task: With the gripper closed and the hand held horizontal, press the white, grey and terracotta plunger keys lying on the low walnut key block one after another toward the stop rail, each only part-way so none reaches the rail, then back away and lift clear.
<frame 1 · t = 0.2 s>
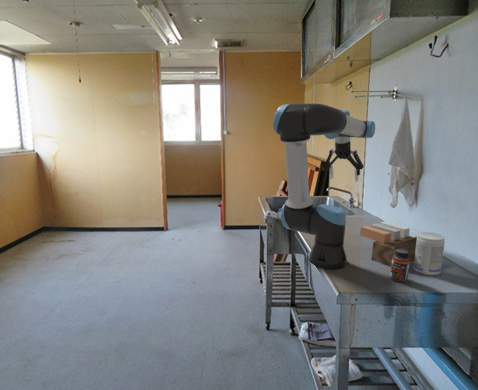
hand: (343, 179, 184), 28 cm above the worktop, tool tilted 15°, fingers open, 13 cm apart
terracotta key: (374, 234, 149), point 10 cm above the worktop, slide at 0.0 cm
walnut key block: (393, 257, 150), on the worktop
grey key: (384, 231, 152), point 10 cm above the worktop, slide at 0.0 cm
supplement bottle: (398, 280, 129), on the worktop
white key: (394, 229, 156), point 10 cm above the worktop, slide at 0.0 cm
supplement tub: (426, 271, 137), on the worktop
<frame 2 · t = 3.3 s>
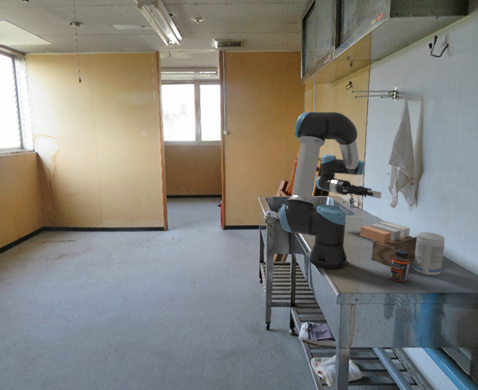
hand: (380, 195, 161), 24 cm above the worktop, tool horizontal, fingers closed
nothing on the worktop moved.
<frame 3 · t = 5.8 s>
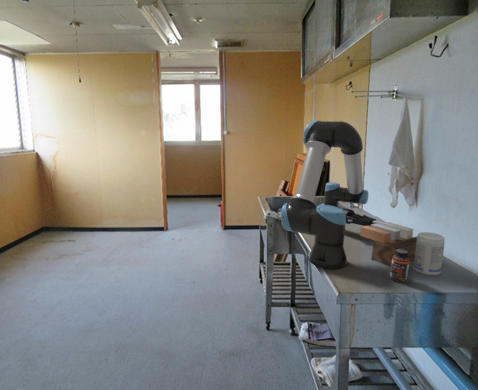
hand: (385, 226, 160), 10 cm above the worktop, tool horizontal, fingers closed
white key: (397, 230, 155), point 10 cm above the worktop, slide at 1.6 cm, touching gripper
everything else where it was.
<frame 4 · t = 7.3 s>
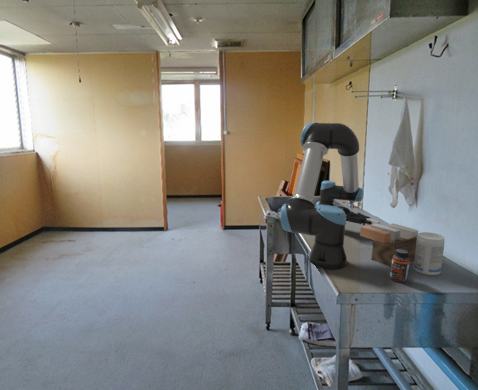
hand: (378, 224, 163), 10 cm above the worktop, tool horizontal, fingers closed
white key: (402, 231, 153), point 10 cm above the worktop, slide at 3.9 cm
everything else where it was.
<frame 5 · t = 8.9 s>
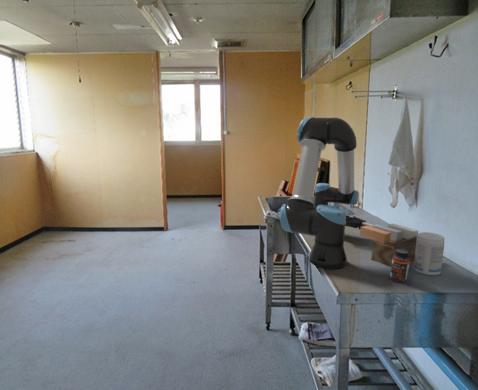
hand: (374, 228, 157), 10 cm above the worktop, tool horizontal, fingers closed
grey key: (386, 232, 152), point 10 cm above the worktop, slide at 1.0 cm, touching gripper
everything else where it was.
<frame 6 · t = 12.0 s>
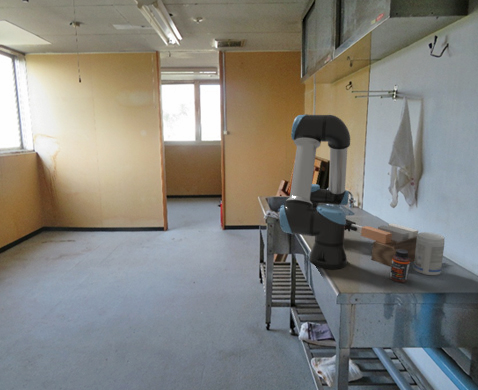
hand: (364, 230, 154), 10 cm above the worktop, tool horizontal, fingers closed
terracotta key: (375, 234, 148), point 10 cm above the worktop, slide at 0.5 cm, touching gripper
grey key: (392, 234, 149), point 10 cm above the worktop, slide at 3.8 cm
everything else where it was.
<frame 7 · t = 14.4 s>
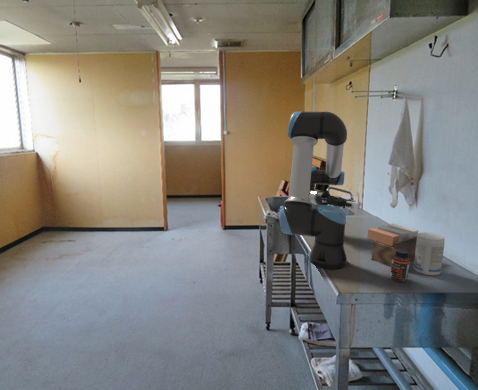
hand: (358, 206, 158), 20 cm above the worktop, tool horizontal, fingers closed
terracotta key: (382, 236, 146), point 10 cm above the worktop, slide at 3.9 cm
everything else where it was.
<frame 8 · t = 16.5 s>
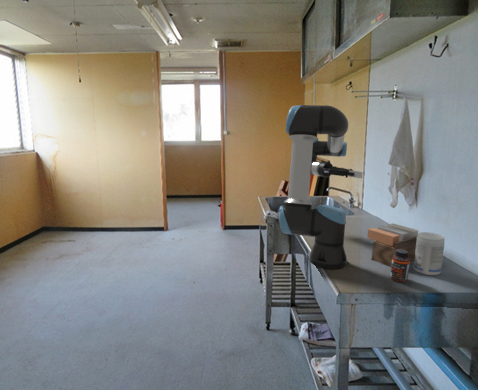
hand: (361, 175, 156), 34 cm above the worktop, tool horizontal, fingers closed
nothing on the worktop moved.
at the end: terracotta key slide at 3.9 cm; grey key slide at 3.8 cm; white key slide at 3.9 cm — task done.
